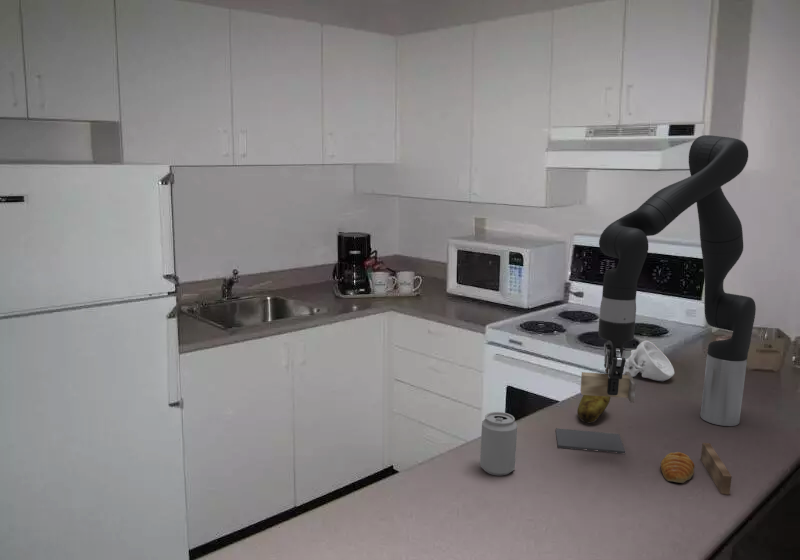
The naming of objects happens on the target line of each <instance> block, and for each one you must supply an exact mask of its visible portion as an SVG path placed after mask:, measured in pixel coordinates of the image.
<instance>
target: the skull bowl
mask: <svg viewBox="0 0 800 560" xmlns="http://www.w3.org/2000/svg"><path fill="white" fill-rule="evenodd" d="M625 360H626V362H625V366H624V370H623V375H625V372H629V373H630V374H631V376H632V378H633V377H634V378H635V377H636V376H637V375H638V373H639V374H641V377H642V378H646V379H649V380H653V381H658V382H664V381H667V380H669V379H671V378H672V377H673V376H674V375H675V369H674V366H673V364H672V363H671V361H670V359H669V358H668V357H667V356H666V354H664V352H663V351H662V350H661V349H660V348H658V347H657V346H656V344H655V343H653V342H651V341H649V340H647V339H646V340H643V341H641V342H640V343H639V344H637V347H636V349H632V350H631V351H630V356H628V357H627V358H625Z"/></svg>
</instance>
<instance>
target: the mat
mask: <svg viewBox="0 0 800 560" xmlns="http://www.w3.org/2000/svg"><path fill="white" fill-rule="evenodd" d="M555 435H556V436H555V437H556V443H557V444H558V445H557V448H558V447H560V448H559V449H567V448H572V449H571V450H578V449H587V450H586V451H588V450H598V451H597V452H599V451H608V452H607V453H609V452H617V453H616V454H620V453H625V454H626V450H625V446H624V444H623V441H622V438H621V435H620V433H613V432H601V431H591V430H590V431H589V430H581V429H569V428H557V427H556V428H555Z"/></svg>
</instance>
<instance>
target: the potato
mask: <svg viewBox="0 0 800 560" xmlns="http://www.w3.org/2000/svg"><path fill="white" fill-rule="evenodd" d="M610 400H611V397H607V396H592V395H582V396H581V400H580V401H579V404H578V407H577V416H578V418H579V419H580V420H581V421H582V422H584V423H586V424H590V423H594V422H596V421H597V420H598V419H599V417H600V416H601V415H602V414H603V413H604V412H605V411H606V409H607V407H608V405H609V403H610V402H611V401H610Z"/></svg>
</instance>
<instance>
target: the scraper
mask: <svg viewBox="0 0 800 560" xmlns="http://www.w3.org/2000/svg"><path fill="white" fill-rule="evenodd" d="M636 385H637V384H636V381H635V380H634V378H633V377H632V376H631V374H630V373H629V372H625V374H623V375H622V379H619V386H618V394H617V395H608V393H607V388H608V373H603V372H602V373H601V372H600V373H599V372H588V371H587V372H586V371H584V372H581V380H580V391H579V392H580V394H581V395H582V396H583V395H592V396H607V397H610V398H621V399H622V398H625V399H628V402H629V403H630V404H631V403H633V404H634V403H635V397H636V396H635V394H636Z"/></svg>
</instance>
